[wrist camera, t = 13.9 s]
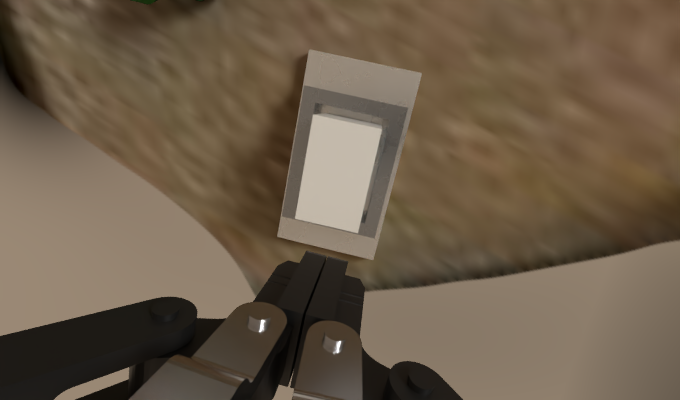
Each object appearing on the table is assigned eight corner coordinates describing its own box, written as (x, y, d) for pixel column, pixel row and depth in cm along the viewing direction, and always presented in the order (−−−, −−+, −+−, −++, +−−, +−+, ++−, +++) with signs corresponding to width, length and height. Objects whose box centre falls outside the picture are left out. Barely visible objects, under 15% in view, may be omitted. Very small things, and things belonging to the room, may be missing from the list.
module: (381, 124, 31) (382, 129, 24) (362, 207, 33) (358, 233, 26) (327, 113, 31) (312, 114, 24) (311, 196, 33) (294, 218, 26)
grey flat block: (420, 74, 30) (424, 70, 27) (373, 255, 35) (372, 269, 32) (311, 51, 31) (304, 45, 28) (280, 232, 36) (271, 244, 33)
